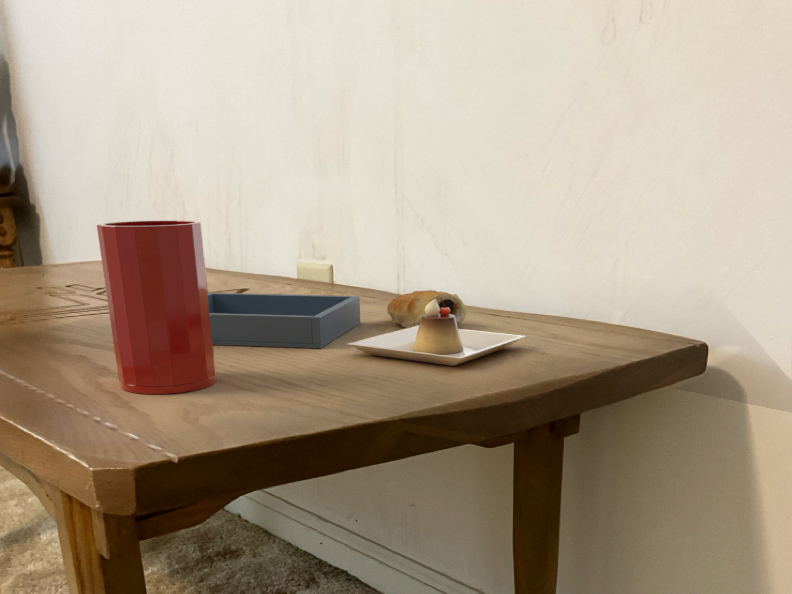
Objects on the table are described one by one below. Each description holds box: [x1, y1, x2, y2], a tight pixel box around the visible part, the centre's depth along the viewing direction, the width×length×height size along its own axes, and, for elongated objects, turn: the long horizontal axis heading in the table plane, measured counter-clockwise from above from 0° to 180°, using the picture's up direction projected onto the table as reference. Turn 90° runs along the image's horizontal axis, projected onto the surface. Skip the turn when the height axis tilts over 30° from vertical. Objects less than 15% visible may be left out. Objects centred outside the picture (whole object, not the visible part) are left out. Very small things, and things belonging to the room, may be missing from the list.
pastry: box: [386, 289, 467, 329], centre depth 92 cm, size 9×7×4 cm
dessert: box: [347, 299, 526, 367], centre depth 77 cm, size 12×12×5 cm
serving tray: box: [208, 292, 361, 349], centre depth 88 cm, size 18×15×3 cm
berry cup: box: [96, 219, 217, 395], centre depth 65 cm, size 7×7×12 cm
